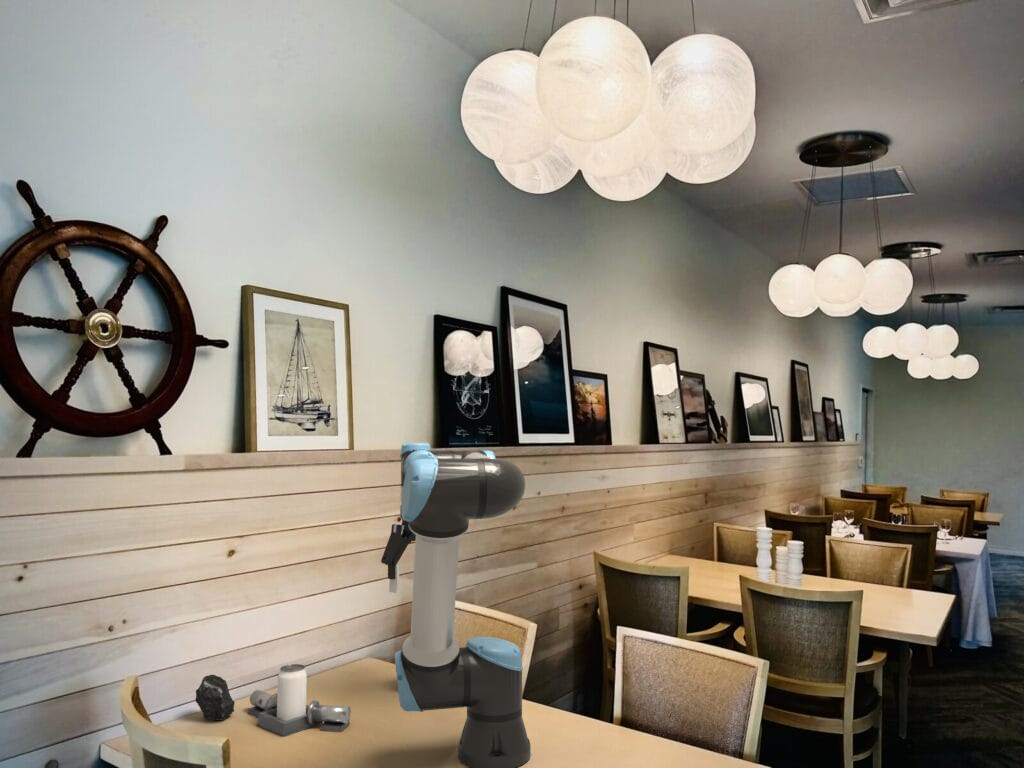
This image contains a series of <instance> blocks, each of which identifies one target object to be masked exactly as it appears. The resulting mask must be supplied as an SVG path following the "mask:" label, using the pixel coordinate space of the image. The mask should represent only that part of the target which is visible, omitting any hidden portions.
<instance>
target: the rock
mask: <svg viewBox="0 0 1024 768" xmlns="http://www.w3.org/2000/svg"><path fill="white" fill-rule="evenodd" d="M195 695H196V696H195V700H194V701H195V702H196V704H197V705H198V707H199V708H200V712H202V715H203V717H204V718H205V719H209V718H210V719H211V720H213V721H222V720H223V721H224V720H225V718H227V717H229V716H230V715H232V714H233V713H234V712H235V700H233V698H232V696H231V693H230V689H229V687H228V683H227V680H225V679H223V677H221V676H218V675H216V674H209V675H206V676H204V677H202V679H201V683H200V685H199V687H198V688H197V689H196V690H195Z"/></svg>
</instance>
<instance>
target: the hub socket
mask: <svg viewBox="0 0 1024 768" xmlns="http://www.w3.org/2000/svg"><path fill="white" fill-rule="evenodd" d="M308 707H309V705H308V704H306V714H305V715H302V716H299V717H296V718H293V719H290V720H287V721H284V720H282V719H279V718H277V708H273V709H270V710H267V711H264V712H260V713H258V718H257V726H258V727H260V728H262V729H265V730H267V731H269V732H272V733H273V734H276V735H278V736H280V737H287V736H290V735H293V734H296V733H299V732H301V731H305V730H308V729H311V728H314V727H316V726H319V725H322V724H323V723H324V722H318V721H315V725H309V724H308V722H307V711H308Z"/></svg>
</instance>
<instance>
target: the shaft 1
mask: <svg viewBox="0 0 1024 768" xmlns="http://www.w3.org/2000/svg"><path fill="white" fill-rule="evenodd" d="M249 703H250V705H251V706H252V707H249V708H247V709H248V710H247V711H248V712H247V714H248V715H250V716H253V717H255V718H257V719H258V713H260V712H264V711H267V710H270V709H273V708H277V692H276V693H274V694H271V693H268V692H265V691H262V690H261V689H256V690H254V691H253V692H252V693H251V694H250V697H249Z"/></svg>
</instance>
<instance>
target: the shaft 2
mask: <svg viewBox="0 0 1024 768" xmlns="http://www.w3.org/2000/svg"><path fill="white" fill-rule="evenodd" d="M308 706H309V707H308V711H307V722H308V724H309V725H315V721H318V722H323V723H322V724H320V731H321V732H332V733H333V732H335V733H336V732H337V733H342V732H343V731H344V730H346V728H347V727H349V726H350V725H351V724H350V723H351V722H350V721H351V719H350V718H351V716H352V715H351V714H352V709H351V706H350V705H338V704H337V705H335V704H334V705H333V704H332V705H331V704H320V702H319V701H318V700H315V699H314V700H311V701H310V703H309V705H308Z"/></svg>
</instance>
